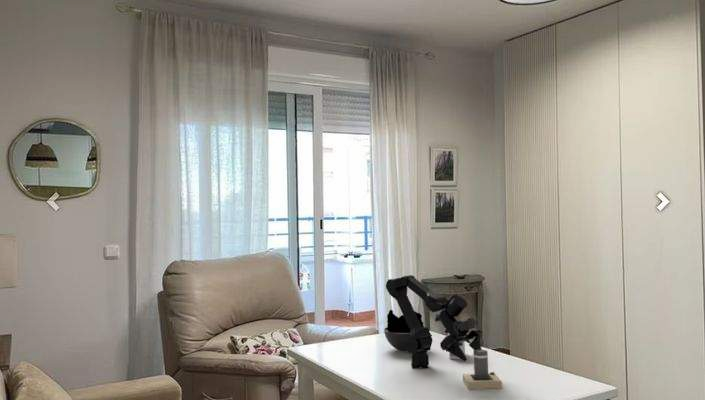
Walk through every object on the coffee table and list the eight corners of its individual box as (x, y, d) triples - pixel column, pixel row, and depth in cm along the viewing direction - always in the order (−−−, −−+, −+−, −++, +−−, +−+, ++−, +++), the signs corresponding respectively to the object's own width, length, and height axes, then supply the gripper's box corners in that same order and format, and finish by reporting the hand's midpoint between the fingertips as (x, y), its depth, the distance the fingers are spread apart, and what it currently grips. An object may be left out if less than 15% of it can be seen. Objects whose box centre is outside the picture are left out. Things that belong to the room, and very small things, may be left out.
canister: (472, 385, 202) (471, 352, 203) (477, 381, 207) (476, 348, 207) (486, 387, 200) (484, 353, 200) (491, 383, 204) (489, 350, 204)
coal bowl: (435, 348, 258) (434, 307, 258) (416, 358, 241) (415, 315, 241) (397, 343, 269) (396, 304, 269) (376, 353, 252) (375, 311, 252)
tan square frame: (468, 389, 198) (467, 380, 198) (462, 380, 208) (462, 372, 208) (501, 388, 198) (501, 379, 198) (494, 379, 208) (494, 371, 208)
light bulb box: (464, 359, 237) (464, 334, 237) (448, 359, 238) (448, 334, 238) (465, 353, 247) (464, 329, 247) (449, 353, 248) (448, 328, 249)
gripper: (445, 314, 204) (469, 350, 196) (478, 307, 216) (502, 341, 207) (430, 332, 211) (452, 367, 202) (463, 325, 222) (486, 358, 213)
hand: (474, 358), depth 206 cm, fingers open, 9 cm apart
